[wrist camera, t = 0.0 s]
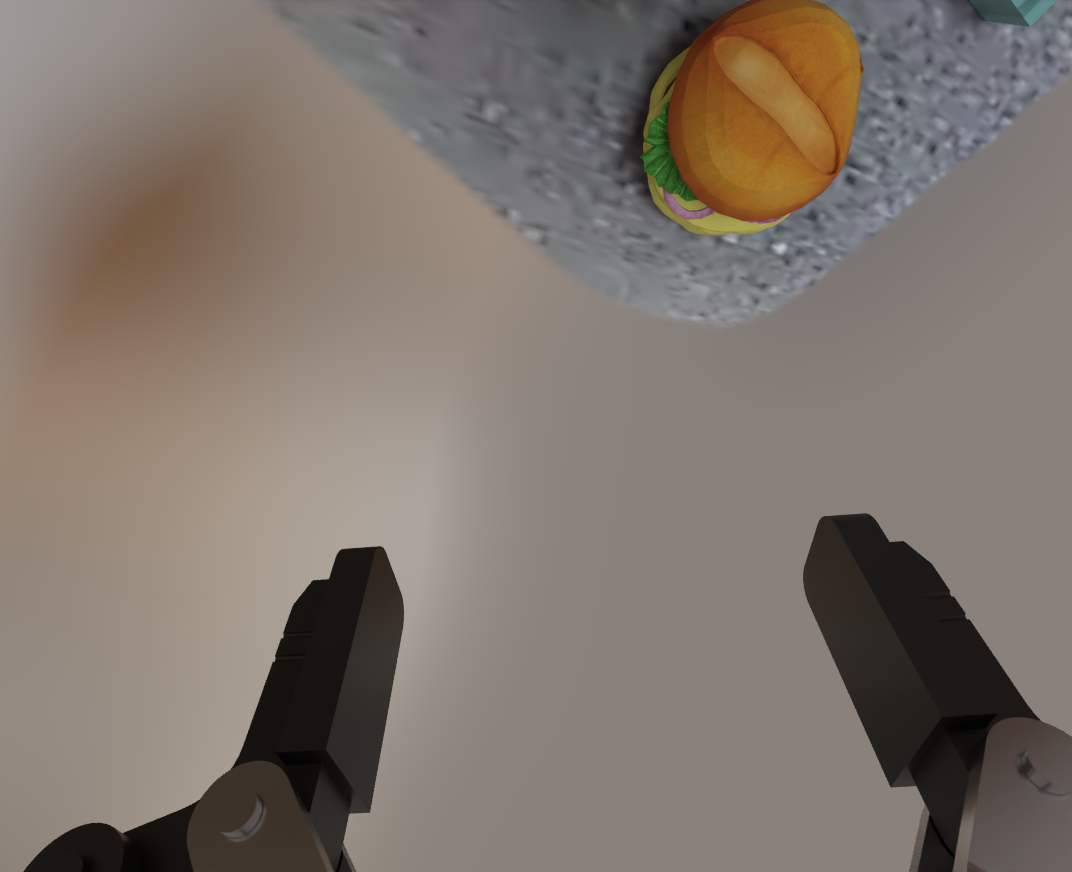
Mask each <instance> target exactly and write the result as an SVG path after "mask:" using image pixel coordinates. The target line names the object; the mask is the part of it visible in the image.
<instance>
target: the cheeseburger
mask: <svg viewBox="0 0 1072 872" xmlns="http://www.w3.org/2000/svg"><path fill="white" fill-rule="evenodd" d="M863 72H864V67H863V64H862V61H861V58H860V56H859V45H858V43H857V41H856V39H855V36H854V34H853V32H852V30H851V28H850V26H849V24H848V23H847V22H846V21H845V20H844V19H842V18H841V17H840V16H839V15H838V14H836V13H835V12H834V11H833V10H832V9H830V8H829V7H828V6H827V5H826V4H823V3H819V2H816V1H812V0H751V1H749V2H746V3H744V4H742V5H740V6H738V7H736V8H734V9H732V10H730V11H728V12H726V13H725V14H724V15H722V16H721V17H720V18H719V19H717V20H716V21H715V22H714V23H712V24H711V25H710V26H709V27H708V28H706V29H705V30H704V31H703V32H702V33H701V34H699V35H698V36H697V37H696V39H695V40H694V41H693V42H692V44H691V46H690V47H689V48H687V49H686V50H684V51H683V52H682V53H680V54H679V55H678V56H677V57H676V58H674V59H673V60H672V61H671V62H670V63H669V64H668V65H667V66H666V68H665V69H664V71H663V72H662V74H661V75H660V77H659V79H658V81H657V82H656V84H655V86H654V88H653V90H652V93H651V97H650V107H649V114H648V117H647V119H646V122H645V124H644V132H643V135H644V140H643V154H642V155H641V156H640V158H641V159H642V160H643V165H644V172H646V174H647V177H648V184H649V188H650V192H651V195H652V198H653V201H654V203H655V204H656V205H657V206H658V208H659V209H660V210H661V211H662V212H663V213H664V214H665V215H667V216H668V217H669V218H671V219H672V220H674V221H675V222H677V223H679V224H681V225H682V226H683V227H684V228H685V229H687V230H688V231H690V232H694V233H697V234H703V235H725V234H729V233H733V234H744V235H747V234H751V233H755V232H760V231H762V230H764V229H766V228H769V227H772V226H775V225H776V224H778V223H779V222H781V221H782V220H784V219H785V218H787V217H788V216H789V215H790V213H791V212H793V211H796V210H798V209H800V208H802V207H804V206H805V205H806V204H808V203H809V202H811V201H812V200H813V199H815V198H816V197H817V196H819V195H820V194H821V193H823V192H824V191H825V190H826V189H827V187H828V186H829V185H830V184H831V182H832V181H833V180H834V179H835V177H836V176H837V175H838V174H839V172H840V171H841V169H842V167H843V165H844V163H845V160H846V158H847V155H848V152H849V150H850V145H851V141H852V136H853V132H854V127H855V122H856V116H857V110H858V104H859V96H860V87H861V78H862V76H863Z"/></svg>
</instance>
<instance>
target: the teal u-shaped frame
mask: <svg viewBox="0 0 1072 872" xmlns="http://www.w3.org/2000/svg"><path fill="white" fill-rule="evenodd" d="M969 1H970V2H971V4H972V5H973V6H974V8H975V9H976V10H977V12H978V13H979V14H980V16H981V17H982V18H983V20H984V21H991V22H998V23H1006V24H1014V25H1021V26H1029V27H1030V26H1031V25H1032V24H1033V23H1034V22H1035V21H1036V20H1037V19H1038V18H1039V17H1040V16H1041V15H1042V14H1043V13H1044V12H1045V11H1046V10H1047V9H1048V8H1049V7H1050V6H1051V5H1052V4H1053V3H1054V2H1055V1H1056V0H969Z"/></svg>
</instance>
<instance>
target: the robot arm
mask: <svg viewBox="0 0 1072 872" xmlns="http://www.w3.org/2000/svg"><path fill="white" fill-rule="evenodd" d="M803 583H804V589H805V594H806V597H807V600H808V603H809V605H810V607H811V610H812V612H813V614H814V616H815V619H816V621H817V623H818V625H819V628H820V630H821V632H822V634H823V637H824V639H825V641H826V643H827V646H828V648H829V650H830V652H831V654H832V657H833V659H834V661H835V663H836V666H837V668H838V670H839V672H840V675H841V677H842V679H843V681H844V684H845V686H846V688H847V690H848V693H849V695H850V697H851V699H852V702H853V704H854V706H855V708H856V711H857V713H858V715H859V717H860V720H861V722H862V724H863V726H864V728H865V731H866V733H867V735H868V738H869V740H870V742H871V744H872V747H873V749H874V751H875V753H876V756H877V758H878V760H879V762H880V765H881V767H882V769H883V771H884V774H885V776H886V778H887V780H888V782H889V785H890V787H906V786H917V788H918V790H919V792H920V794H921V796H922V798H923V801H924V803H925V806H924V808H923V811H922V814H921V818H920V823H919V828H918V833H917V837H916V842H915V846H914V851H913V855H912V860H911V865H910V869H909V872H1072V737H1071V736H1070V735H1068V734H1067V733H1065V732H1064V731H1062V730H1060V729H1058V728H1056V727H1054V726H1052V725H1050V724H1047V723H1044V722H1042V721H1041V720H1040V719H1039V718H1038V717H1037V716H1036V715H1035V714H1034V713H1033V711H1032V710H1031V709H1030V707H1029V706H1028V705H1027V703H1026V702H1025V701H1024V699H1023V698H1022V696H1021V695H1020V693H1019V692H1018V690H1017V689H1016V687H1015V686H1014V684H1013V683H1012V681H1011V680H1010V679H1009V677H1008V675H1007V674H1006V673H1005V671H1004V670H1003V668H1002V667H1001V665H1000V664H999V662H998V661H997V659H996V658H995V656H994V655H993V654H992V652H991V651H990V649H989V647H988V646H987V645H986V643H985V642H984V640H983V639H982V637H981V636H980V634H979V633H978V631H977V630H976V628H975V627H974V625H973V624H972V622H971V621H970V620H967V619H966V617H965V612H964V611H963V609H962V608H961V606H960V605H959V603H958V602H957V600H956V599H955V598H954V597H952V596H951V595H950V590H949V589H948V587H947V586H946V584H945V583H944V581H943V580H942V578H941V577H940V575H939V574H938V572H937V571H936V569H935V568H934V567H933V565H932V564H931V563H930V562H929V561H927V560H926V559H925V558H924V557H923V556H921V555H920V554H919V553H917V552H916V551H915V550H914V549H913V548H912V547H910V546H909V545H908V544H907V543H905V542H904V541H899V542H889V540H888V539H887V537H886V536H885V534H884V532H883V531H882V529H881V528H880V526H879V524H878V523H877V521H876V520H875V519H874V518H873V517H872V516H871V515H869V514H865V513H864V514H851V515H837V516H824V517H822V518H821V519H820V520H819V523H818V525H817V528H816V532H815V535H814V538H813V541H812V545H811V547H810V551H809V554H808V557H807V560H806V563H805V566H804V572H803ZM403 622H404V606H403V598H402V594H401V592H400V589H399V586H398V584H397V581H396V578H395V575H394V573H393V570H392V567H391V565H390V562H389V559H388V557H387V554H386V552H385V550H384V548H383V547H381V546H378V547H364V548H350V549H341V550H340V551H339V552H338V554H337V556H336V558H335V562H334V565H333V568H332V571H331V575H330V578H329V579H327V580H313V581H312V582H311V584H309V586H308V587H307V588H306V590H305V591H304V592H303V593H302V595H301V596H300V597H299V598H298V600H297V601H296V602H295V603H294V605H293V607H292V610H291V613H290V615H289V618H288V621H287V624H286V627H285V630H284V632H283V634H284V637H283V638H282V639H281V641H280V643H279V646H278V649H277V652H276V655H275V657H276V659H275V662H273V663H272V666H271V669H270V672H269V674H268V677H267V680H266V683H265V686H264V688H263V691H262V694H261V697H260V700H259V703H258V705H257V708H256V711H255V714H254V717H253V719H252V722H251V725H250V728H249V731H248V734H247V736H246V739H245V742H244V745H243V747H242V750H241V752H240V755H239V757H238V759H237V760H236V762H235V764H234V766H233V767H232V768H231V770H229V771H228V772H226V773H225V774H223V775H222V776H221V777H220V778H218V779H217V780H216V781H215V782H214V783H213V784H212V785H211V786H210V787H209V788H208V790H207V791H206V792H205V793H204V795H203V796H202V797H201V799H200V800H198V801H197V802H195V803H193V804H192V805H190V806H188V807H185V808H183V809H181V810H179V811H176V812H174V813H171V814H169V815H166V816H164V817H161V818H159V819H156V820H154V821H152V822H149V823H146V824H144V825H142V826H139V827H137V828H134V829H132V830H129V831H127V832H124V833H121V832H120V831H118V830H117V829H115V828H114V827H112V826H110V825H108V824H103V823H90V824H85V825H82V826H79V827H77V828H74V829H72V830H70V831H68V832H66V833H65V834H63V835H61V836H60V837H58V838H57V839H55V840H54V841H53V842H51V843H50V844H49V845H48V846H47V847H45V848H44V849H43V850H42V851H41V852H40V853H39V854H38V855H37V856H36V857H35V858H34V859H33V860H32V862H31V863H30V864H29V865H28V866H27V868H26V869H25V870H24V872H356V870H355V868H354V866H353V863H352V861H351V859H350V857H349V855H348V852H347V850H346V848H345V846H344V844H343V841H344V836H345V831H346V826H347V821H348V816H349V814H350V813H369V812H370V809H371V804H372V798H373V792H374V787H375V781H376V776H377V770H378V764H379V759H380V753H381V748H382V742H383V736H384V731H385V725H386V720H387V714H388V708H389V702H390V697H391V691H392V686H393V680H394V675H395V669H396V664H397V658H398V652H399V647H400V641H401V636H402V630H403Z"/></svg>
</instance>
